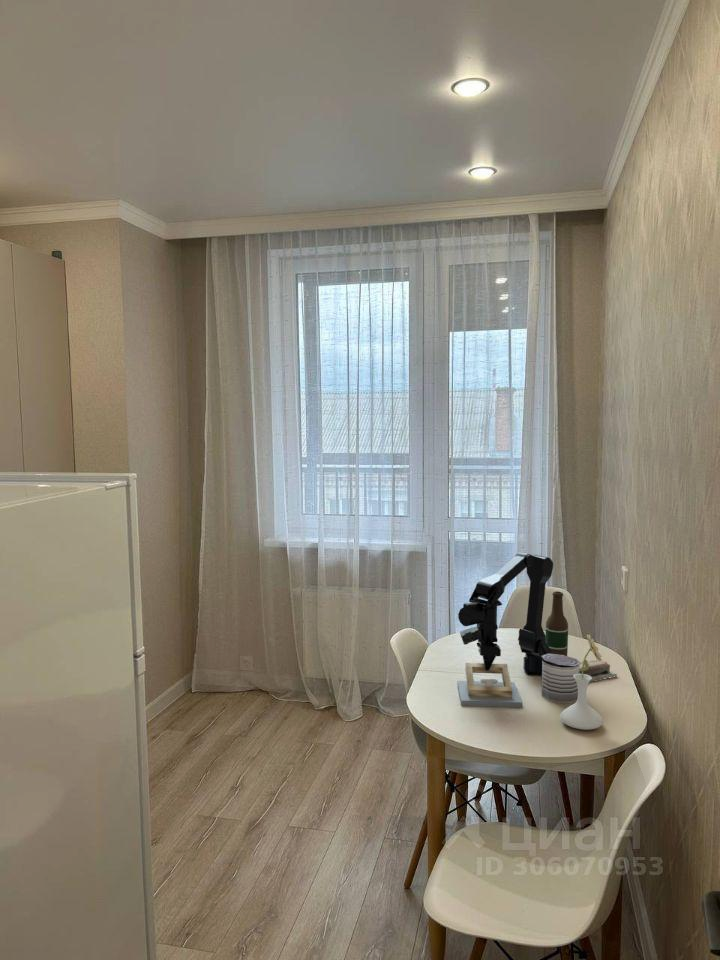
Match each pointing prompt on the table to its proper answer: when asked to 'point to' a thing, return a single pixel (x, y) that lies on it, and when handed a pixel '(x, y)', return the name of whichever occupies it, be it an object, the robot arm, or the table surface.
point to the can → (559, 678)
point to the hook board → (488, 701)
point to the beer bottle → (557, 627)
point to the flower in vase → (583, 699)
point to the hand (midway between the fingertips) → (486, 668)
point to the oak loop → (488, 690)
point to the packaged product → (597, 670)
